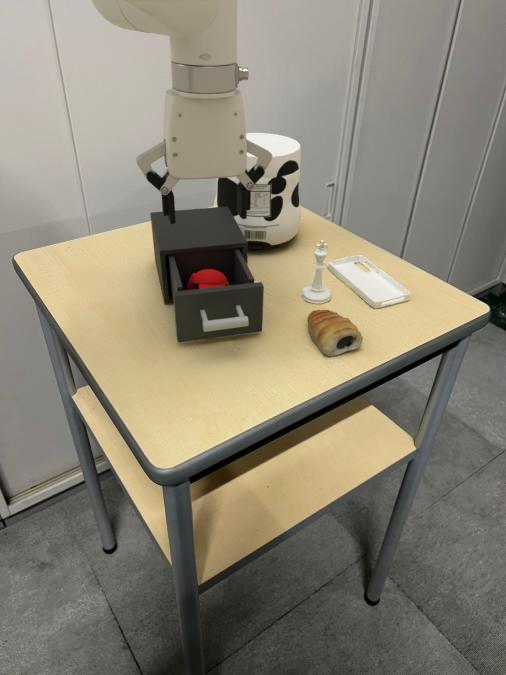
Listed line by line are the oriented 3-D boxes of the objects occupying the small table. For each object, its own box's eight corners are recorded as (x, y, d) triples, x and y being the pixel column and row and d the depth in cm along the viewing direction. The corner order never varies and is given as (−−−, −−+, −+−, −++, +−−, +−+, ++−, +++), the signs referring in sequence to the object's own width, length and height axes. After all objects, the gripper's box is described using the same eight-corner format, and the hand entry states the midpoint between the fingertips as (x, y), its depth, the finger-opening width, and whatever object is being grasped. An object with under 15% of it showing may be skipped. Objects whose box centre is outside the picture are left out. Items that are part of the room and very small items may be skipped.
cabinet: (246, 295, 86) (247, 242, 80) (164, 304, 83) (159, 250, 77) (228, 254, 97) (227, 206, 91) (155, 262, 94) (150, 212, 88)
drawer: (270, 349, 73) (272, 302, 68) (182, 361, 70) (178, 313, 65) (240, 285, 86) (241, 243, 82) (166, 293, 84) (162, 250, 79)
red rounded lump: (182, 296, 81) (180, 262, 78) (218, 288, 83) (217, 255, 80) (199, 323, 75) (198, 287, 72) (237, 314, 77) (237, 279, 74)
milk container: (265, 212, 113) (268, 126, 103) (317, 241, 102) (327, 149, 92) (197, 230, 105) (192, 139, 94) (245, 264, 94) (246, 165, 83)
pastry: (295, 324, 79) (297, 303, 77) (334, 315, 81) (337, 295, 79) (325, 360, 72) (328, 338, 70) (366, 350, 74) (371, 328, 72)
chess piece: (335, 302, 85) (342, 246, 79) (306, 305, 84) (312, 249, 78) (325, 286, 88) (331, 232, 82) (297, 289, 87) (302, 235, 81)
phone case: (326, 267, 94) (374, 309, 83) (326, 260, 93) (375, 302, 82) (360, 260, 96) (411, 300, 85) (361, 253, 96) (412, 293, 85)
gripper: (266, 73, 65) (261, 203, 75) (126, 74, 61) (140, 211, 71) (284, 84, 59) (275, 224, 69) (130, 86, 55) (144, 234, 65)
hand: (207, 217), depth 70 cm, fingers open, 9 cm apart
